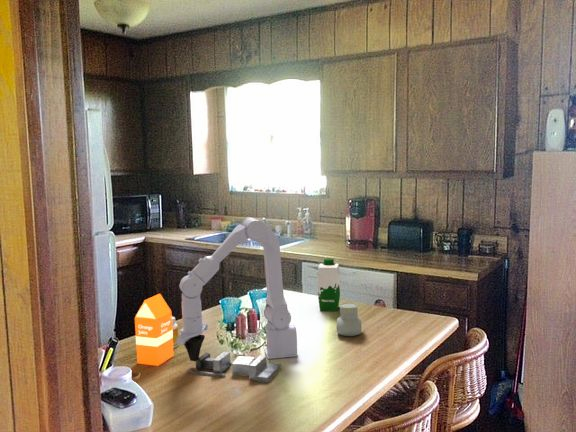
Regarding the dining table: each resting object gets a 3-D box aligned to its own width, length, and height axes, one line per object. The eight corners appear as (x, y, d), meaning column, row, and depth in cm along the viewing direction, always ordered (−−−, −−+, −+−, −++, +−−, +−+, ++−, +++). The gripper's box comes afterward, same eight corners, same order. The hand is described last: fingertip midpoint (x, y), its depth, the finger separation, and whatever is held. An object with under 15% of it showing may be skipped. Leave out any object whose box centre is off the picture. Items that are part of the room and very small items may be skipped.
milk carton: (340, 305, 222) (340, 258, 219) (339, 312, 213) (338, 262, 211) (319, 305, 223) (318, 258, 221) (317, 311, 214) (316, 262, 212)
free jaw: (230, 365, 161) (230, 352, 160) (219, 374, 154) (219, 360, 154) (206, 362, 163) (206, 349, 163) (195, 371, 157) (194, 357, 156)
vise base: (280, 369, 157) (280, 356, 156) (267, 382, 147) (267, 368, 147) (205, 360, 165) (204, 347, 165) (188, 372, 156) (187, 359, 156)
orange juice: (136, 363, 165) (133, 299, 163) (153, 353, 173) (150, 292, 171) (158, 366, 162) (155, 301, 160) (174, 355, 170) (171, 294, 168)
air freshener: (338, 328, 192) (337, 301, 191) (361, 329, 191) (361, 301, 190) (336, 338, 182) (335, 310, 181) (361, 339, 180) (360, 310, 179)
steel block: (255, 368, 158) (254, 357, 158) (249, 376, 153) (248, 364, 152) (239, 367, 160) (238, 356, 159) (232, 375, 154) (231, 363, 154)
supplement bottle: (180, 343, 182) (178, 315, 181) (177, 348, 176) (175, 320, 175) (164, 343, 182) (162, 315, 181) (160, 349, 176) (159, 320, 175)
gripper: (192, 308, 167) (194, 350, 169) (166, 322, 154) (169, 367, 155) (212, 310, 165) (214, 352, 166) (188, 324, 151) (190, 370, 153)
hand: (194, 360), depth 161 cm, fingers closed
